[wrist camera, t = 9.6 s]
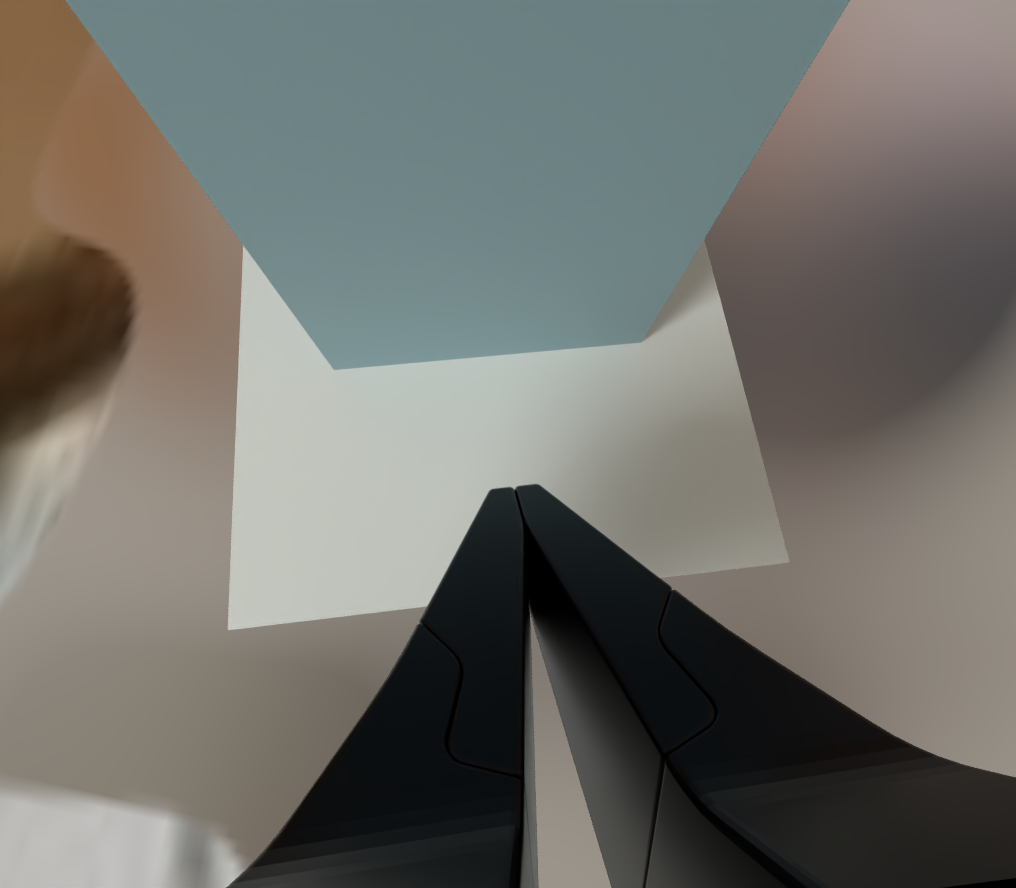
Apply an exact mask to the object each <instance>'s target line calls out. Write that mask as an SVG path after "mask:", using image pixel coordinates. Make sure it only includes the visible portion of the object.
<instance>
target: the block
mask: <svg viewBox="0 0 1016 888" xmlns="http://www.w3.org/2000/svg"><path fill="white" fill-rule="evenodd" d="M65 1H66V2H67V3H68V5H69V6H70V8H71V9H72V10H73V12H74V13H75V14H76V16H77V17H78V19H79V20H80V21H81V23H82V24H83V25H84V27H85V28H86V30H87V31H88V32H89V34H90V35H91V36H92V38H93V39H94V41H95V42H96V43H97V45H98V46H99V47H100V49H101V50H102V52H103V53H104V54H105V56H106V57H107V58H108V60H109V61H110V62H111V64H112V65H113V67H114V68H115V69H116V71H117V72H118V74H119V75H120V76H121V78H122V79H123V80H124V81H125V83H126V85H127V86H128V87H129V89H130V90H131V91H132V93H133V94H134V96H135V97H136V98H137V100H138V101H139V102H140V104H141V105H142V107H143V108H144V109H145V111H146V112H147V113H148V115H149V116H150V118H151V119H152V120H153V122H154V123H155V124H156V126H157V127H158V129H159V130H160V131H161V133H162V134H163V135H164V137H165V138H166V140H167V141H168V142H169V144H170V145H171V146H172V148H173V149H174V151H175V152H176V153H177V155H178V156H179V158H180V159H181V160H182V162H183V163H184V164H185V166H186V167H187V169H188V170H189V171H190V173H191V174H192V175H193V177H194V178H195V180H196V181H197V182H198V184H199V185H200V186H201V188H202V189H203V190H204V192H205V193H206V195H207V196H208V197H209V199H210V200H211V201H212V203H213V204H214V206H215V207H216V208H217V210H218V211H219V213H220V214H221V215H222V217H223V218H224V219H225V221H226V222H227V224H228V225H229V226H230V228H231V229H232V230H233V232H234V233H235V235H236V236H237V237H238V239H239V240H240V241H241V243H242V244H243V246H244V247H245V248H246V250H247V251H248V252H249V254H250V255H251V257H252V258H253V259H254V261H255V262H256V263H257V265H258V266H259V268H260V269H261V270H262V272H263V273H264V275H265V276H266V277H267V279H268V280H269V281H270V283H271V284H272V286H273V287H274V288H275V290H276V291H277V292H278V294H279V295H280V297H281V298H282V299H283V301H284V302H285V303H286V305H287V306H288V308H289V309H290V310H291V312H292V313H293V314H294V316H295V317H296V319H297V320H298V321H299V323H300V324H301V325H302V327H303V328H304V330H305V331H306V332H307V334H308V335H309V336H310V338H311V339H312V341H313V342H314V343H315V345H316V346H317V347H318V349H319V350H320V352H321V353H322V354H323V356H324V357H325V358H326V360H327V361H328V363H329V364H330V365H331V367H332V368H333V369H334V370H341V369H352V368H363V367H374V366H385V365H396V364H408V363H419V362H430V361H441V360H452V359H463V358H475V357H486V356H497V355H508V354H519V353H530V352H542V351H553V350H564V349H575V348H586V347H598V346H609V345H620V344H631V343H641V342H642V340H643V339H644V337H645V335H646V334H647V332H648V331H649V329H650V327H651V326H652V324H653V322H654V321H655V319H656V317H657V316H658V314H659V313H660V311H661V309H662V308H663V306H664V304H665V303H666V301H667V299H668V298H669V296H670V294H671V293H672V291H673V290H674V288H675V286H676V285H677V283H678V281H679V280H680V278H681V276H682V275H683V273H684V272H685V270H686V268H687V267H688V265H689V263H690V262H691V260H692V258H693V257H694V255H695V253H696V252H697V250H698V249H699V247H700V245H701V244H702V242H703V240H704V239H705V237H706V235H707V233H708V232H709V231H710V229H711V227H712V226H713V224H714V222H715V221H716V219H717V217H718V216H719V214H720V212H721V211H722V209H723V208H724V206H725V204H726V203H727V201H728V199H729V198H730V196H731V194H732V193H733V191H734V190H735V188H736V186H737V185H738V183H739V181H740V180H741V178H742V176H743V175H744V173H745V171H746V170H747V168H748V167H749V165H750V163H751V162H752V160H753V158H754V157H755V155H756V153H757V152H758V150H759V149H760V147H761V145H762V144H763V142H764V140H765V139H766V137H767V135H768V134H769V132H770V130H771V129H772V127H773V125H774V124H775V122H776V121H777V119H778V117H779V116H780V114H781V112H782V111H783V109H784V108H785V106H786V104H787V103H788V101H789V99H790V98H791V96H792V94H793V93H794V91H795V89H796V88H797V86H798V85H799V83H800V81H801V80H802V78H803V76H804V75H805V73H806V71H807V70H808V68H809V67H810V65H811V63H812V62H813V60H814V58H815V57H816V55H817V53H818V52H819V50H820V49H821V47H822V45H823V44H824V42H825V40H826V39H827V37H828V35H829V34H830V32H831V30H832V29H833V27H834V25H835V24H836V22H837V21H838V19H839V17H840V15H841V14H842V12H843V11H844V9H845V7H846V6H847V4H848V2H849V1H850V0H65Z"/></svg>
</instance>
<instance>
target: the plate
mask: <svg viewBox="0 0 1016 888" xmlns="http://www.w3.org/2000/svg"><path fill="white" fill-rule="evenodd" d="M529 484H539V485H541V486H542V487H543V488H545V489H546V490H547V491H548V492H550V493H551V494H552V495H554V496H555V497H556V498H557V499H559V500H560V501H561V502H563V503H564V504H565V505H566V506H568V507H569V508H570V509H572V510H573V511H574V512H575V513H577V514H578V515H579V516H581V517H582V518H583V519H585V520H586V521H587V522H588V523H590V524H591V525H592V526H594V527H595V528H596V529H597V530H599V531H600V532H601V533H603V534H604V535H605V536H606V537H608V538H609V539H610V540H612V541H613V542H614V543H615V544H617V545H618V546H619V547H621V548H622V549H623V550H624V551H626V552H627V553H628V554H630V555H631V556H632V557H633V558H635V559H636V560H637V561H639V562H640V563H641V564H642V565H644V566H645V567H646V568H648V569H649V570H650V571H651V572H653V573H654V574H655V575H657V576H658V577H659V578H667V577H674V576H684V575H691V574H700V573H708V572H717V571H725V570H732V569H742V568H750V567H758V566H767V565H775V564H783V563H790V560H789V557H788V553H787V549H786V545H785V542H784V538H783V534H782V530H781V527H780V523H779V519H778V515H777V511H776V508H775V504H774V500H773V496H772V493H771V489H770V485H769V481H768V477H767V474H766V470H765V466H764V463H763V459H762V455H761V451H760V447H759V444H758V440H757V436H756V432H755V428H754V425H753V421H752V417H751V414H750V410H749V406H748V402H747V398H746V394H745V391H744V387H743V383H742V379H741V375H740V372H739V368H738V365H737V360H736V357H735V353H734V349H733V345H732V342H731V338H730V335H729V330H728V326H727V323H726V319H725V315H724V312H723V308H722V304H721V300H720V296H719V292H718V289H717V285H716V281H715V277H714V274H713V270H712V266H711V262H710V259H709V255H708V251H707V247H706V244H705V240H703V242H702V244H701V245H700V247H699V249H698V250H697V252H696V253H695V255H694V257H693V258H692V260H691V262H690V263H689V265H688V267H687V268H686V270H685V272H684V273H683V275H682V276H681V278H680V280H679V281H678V283H677V285H676V286H675V288H674V290H673V291H672V293H671V294H670V296H669V298H668V299H667V301H666V303H665V304H664V306H663V308H662V309H661V311H660V313H659V314H658V316H657V317H656V319H655V321H654V322H653V324H652V326H651V327H650V329H649V331H648V332H647V334H646V335H645V337H644V339H643V340H642V342H641V343H631V344H620V345H609V346H598V347H586V348H575V349H564V350H553V351H542V352H530V353H519V354H508V355H497V356H486V357H475V358H463V359H452V360H441V361H430V362H419V363H408V364H396V365H385V366H374V367H363V368H352V369H341V370H334V369H333V368H332V367H331V365H330V364H329V363H328V361H327V360H326V358H325V357H324V356H323V354H322V353H321V352H320V350H319V349H318V347H317V346H316V345H315V343H314V342H313V341H312V339H311V338H310V336H309V335H308V334H307V332H306V331H305V330H304V328H303V327H302V325H301V324H300V323H299V321H298V320H297V319H296V317H295V316H294V314H293V313H292V312H291V310H290V309H289V308H288V306H287V305H286V303H285V302H284V301H283V299H282V298H281V297H280V295H279V294H278V292H277V291H276V290H275V288H274V287H273V286H272V284H271V283H270V281H269V280H268V279H267V277H266V276H265V275H264V273H263V272H262V270H261V269H260V268H259V266H258V265H257V263H256V262H255V261H254V259H253V258H252V257H251V255H250V254H249V252H248V251H247V250H246V248H245V247H244V246H243V268H242V294H241V318H240V343H239V369H238V391H237V416H236V443H235V466H234V491H233V514H232V515H233V516H232V541H231V564H230V565H231V566H230V589H229V613H228V630H234V629H242V628H251V627H259V626H267V625H275V624H284V623H292V622H300V621H308V620H317V619H325V618H334V617H342V616H349V615H358V614H366V613H375V612H383V611H392V610H400V609H409V608H417V607H425V606H428V604H429V602H430V600H431V598H432V596H433V594H434V593H435V591H436V589H437V587H438V585H439V583H440V581H441V580H442V578H443V576H444V574H445V572H446V570H447V568H448V566H449V565H450V563H451V561H452V559H453V557H454V555H455V553H456V551H457V550H458V548H459V546H460V544H461V542H462V540H463V538H464V536H465V535H466V533H467V531H468V529H469V527H470V525H471V523H472V522H473V520H474V518H475V516H476V514H477V512H478V510H479V508H480V507H481V505H482V503H483V501H484V499H485V497H486V495H487V493H488V492H489V490H491V489H495V488H503V487H512V488H513V489H514V490H515V488H516V487H517V486H521V485H529Z"/></svg>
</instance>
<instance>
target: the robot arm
mask: <svg viewBox="0 0 1016 888" xmlns="http://www.w3.org/2000/svg"><path fill="white" fill-rule="evenodd" d="M529 608H530V609H529ZM530 613H531V617H532V621H533V625H534V629H535V632H536V635H537V639H538V642H539V645H540V649H541V652H542V656H543V659H544V662H545V666H546V669H547V672H548V676H549V679H550V682H551V686H552V689H553V693H554V696H555V699H556V703H557V706H558V709H559V713H560V716H561V719H562V723H563V726H564V729H565V732H566V736H567V739H568V743H569V746H570V750H571V753H572V756H573V760H574V763H575V766H576V770H577V773H578V776H579V780H580V783H581V787H582V790H583V793H584V797H585V800H586V803H587V807H588V810H589V813H590V817H591V820H592V823H593V827H594V830H595V833H596V837H597V840H598V843H599V847H600V850H601V853H602V857H603V860H604V863H605V867H606V870H607V874H608V877H609V880H610V884H611V887H612V888H1016V777H1011V776H1007V775H1003V774H999V773H995V772H990V771H986V770H982V769H978V768H974V767H970V766H966V765H963V764H960V763H957V762H954V761H951V760H948V759H945V758H942V757H939V756H936V755H934V754H932V753H930V752H927V751H925V750H923V749H920V748H918V747H916V746H913V745H912V744H910V743H908V742H906V741H904V740H902V739H900V738H898V737H896V736H894V735H892V734H891V733H889V732H887V731H886V730H884V729H882V728H881V727H879V726H877V725H876V724H874V723H872V722H871V721H869V720H867V719H865V718H864V717H863V716H861V715H860V714H858V713H856V712H855V711H853V710H852V709H850V708H849V707H847V706H846V705H844V704H842V703H841V702H839V701H838V700H836V699H835V698H833V697H831V696H830V695H828V694H827V693H825V692H824V691H822V690H821V689H819V688H817V687H816V686H814V685H813V684H811V683H810V682H808V681H806V680H805V679H803V678H802V677H800V676H799V675H797V674H795V673H794V672H792V671H791V670H789V669H788V668H786V667H785V666H783V665H781V664H780V663H778V662H777V661H775V660H774V659H772V658H770V657H769V656H767V655H766V654H764V653H763V652H761V651H760V650H758V649H757V648H755V647H754V646H752V645H751V644H749V643H748V642H746V641H745V640H743V639H742V638H740V637H739V636H737V635H736V634H734V633H733V632H731V631H730V630H728V629H727V628H725V627H724V626H723V625H721V624H720V623H718V622H717V621H716V620H715V619H713V618H712V617H710V616H709V615H708V614H706V613H705V612H704V611H702V610H701V609H700V608H698V607H697V606H696V605H694V604H693V603H692V602H690V601H689V600H688V599H687V598H685V597H684V596H682V595H681V594H680V593H679V592H677V591H676V590H672V588H671V586H669V585H668V584H667V583H666V582H664V581H663V580H662V579H660V578H659V577H658V576H657V575H655V574H654V573H653V572H651V571H650V570H649V569H648V568H646V567H645V566H644V565H642V564H641V563H640V562H639V561H637V560H636V559H635V558H633V557H632V556H631V555H630V554H628V553H627V552H626V551H624V550H623V549H622V548H621V547H619V546H618V545H617V544H615V543H614V542H613V541H612V540H610V539H609V538H608V537H606V536H605V535H604V534H603V533H601V532H600V531H599V530H597V529H596V528H595V527H594V526H592V525H591V524H590V523H588V522H587V521H586V520H585V519H583V518H582V517H581V516H579V515H578V514H577V513H575V512H574V511H573V510H572V509H570V508H569V507H568V506H566V505H565V504H564V503H563V502H561V501H560V500H559V499H557V498H556V497H555V496H554V495H552V494H551V493H550V492H548V491H547V490H546V489H545V488H543V487H542V486H541V485H539V484H529V485H521V486H517V487H516V488H515V490H514V489H513V488H512V487H503V488H495V489H491V490H489V492H488V493H487V495H486V497H485V499H484V501H483V503H482V505H481V507H480V508H479V510H478V512H477V514H476V516H475V518H474V520H473V522H472V523H471V525H470V527H469V529H468V531H467V533H466V535H465V536H464V538H463V540H462V542H461V544H460V546H459V548H458V550H457V551H456V553H455V555H454V557H453V559H452V561H451V563H450V565H449V566H448V568H447V570H446V572H445V574H444V576H443V578H442V580H441V581H440V583H439V585H438V587H437V589H436V591H435V593H434V594H433V596H432V598H431V600H430V602H429V604H428V606H427V608H426V609H425V611H424V613H423V615H422V617H421V619H420V624H418V625H417V626H416V628H415V630H414V631H413V634H412V635H411V637H410V639H409V641H408V643H407V645H406V647H405V648H404V650H403V652H402V653H401V655H400V657H399V658H398V660H397V662H396V664H395V665H394V667H393V669H392V671H391V672H390V674H389V676H388V677H387V679H386V680H385V682H384V684H383V685H382V686H381V688H380V690H379V691H378V693H377V694H376V695H375V697H374V699H373V700H372V701H371V703H370V704H369V706H368V707H367V709H366V710H365V712H364V713H363V715H362V716H361V718H360V719H359V720H358V722H357V723H356V725H355V726H354V728H353V729H352V730H351V732H350V733H349V735H348V736H347V738H346V739H345V740H344V742H343V743H342V745H341V746H340V747H339V749H338V750H337V752H336V753H335V755H334V756H333V757H332V759H331V760H330V762H329V763H328V765H327V766H326V767H325V769H324V770H323V772H322V773H321V775H320V776H319V777H318V779H317V780H316V782H315V783H314V784H313V786H312V787H311V789H310V790H309V792H308V793H307V795H306V796H305V797H304V799H303V800H302V802H301V803H300V804H299V806H298V807H297V809H296V810H295V811H294V813H293V814H292V816H291V817H290V819H289V820H288V821H287V823H286V824H285V825H284V827H283V828H282V829H281V831H280V832H279V833H278V834H277V835H276V837H275V838H274V839H273V840H272V842H271V843H270V844H269V845H268V846H267V848H266V849H265V850H264V851H263V852H262V853H261V854H260V855H259V856H258V857H257V858H256V860H255V861H254V862H253V863H252V864H251V865H250V866H249V867H248V868H247V869H246V870H245V871H244V872H243V873H242V874H241V875H240V876H239V877H238V878H236V879H235V880H234V881H233V882H232V883H231V884H230V885H229V886H228V887H226V888H538V858H537V824H536V792H535V758H534V725H533V689H532V656H531V626H530Z"/></svg>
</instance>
